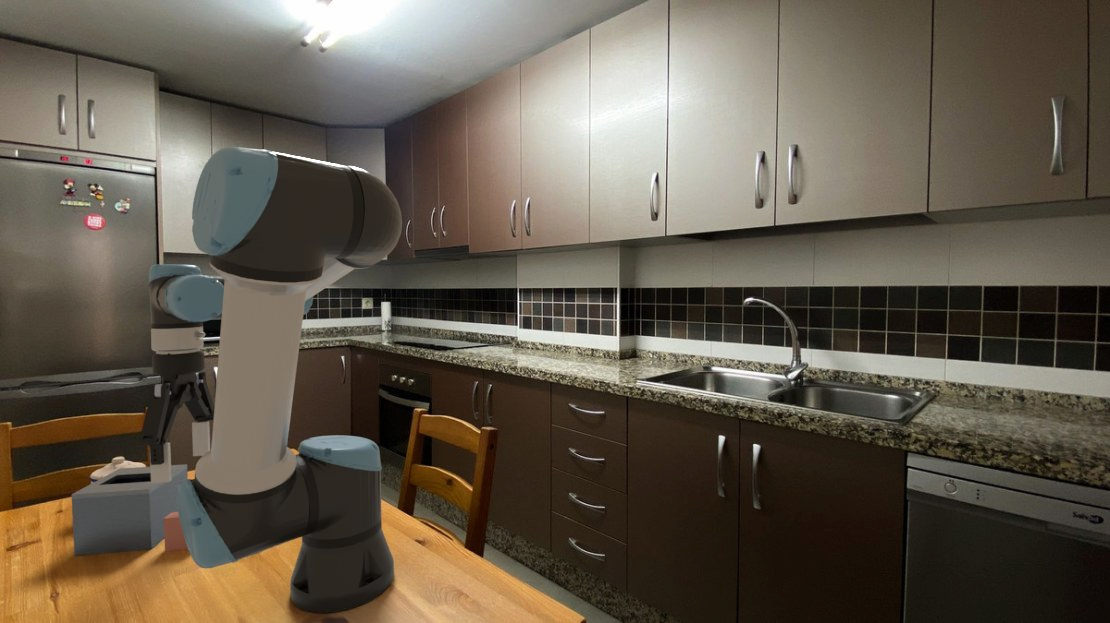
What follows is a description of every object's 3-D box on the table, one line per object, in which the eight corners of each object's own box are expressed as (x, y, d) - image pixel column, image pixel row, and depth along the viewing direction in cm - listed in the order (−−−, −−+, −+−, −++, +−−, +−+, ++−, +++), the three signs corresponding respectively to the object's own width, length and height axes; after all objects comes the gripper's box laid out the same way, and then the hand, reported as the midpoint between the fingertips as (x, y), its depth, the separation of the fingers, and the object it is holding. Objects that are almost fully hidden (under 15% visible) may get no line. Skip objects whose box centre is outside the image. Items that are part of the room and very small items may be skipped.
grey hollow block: (151, 549, 91) (149, 489, 91) (74, 555, 89) (71, 494, 89) (189, 517, 104) (187, 464, 104) (122, 522, 102) (120, 468, 101)
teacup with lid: (157, 507, 109) (155, 454, 108) (106, 526, 100) (103, 468, 100) (125, 498, 114) (123, 447, 113) (73, 515, 105) (71, 460, 105)
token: (199, 548, 92) (198, 515, 92) (165, 551, 91) (163, 518, 91) (205, 541, 94) (204, 510, 94) (172, 544, 93) (171, 512, 93)
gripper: (162, 360, 79) (167, 493, 80) (232, 342, 104) (235, 445, 105) (107, 361, 78) (113, 497, 79) (191, 343, 102) (195, 447, 104)
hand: (183, 467), depth 92 cm, fingers open, 13 cm apart
